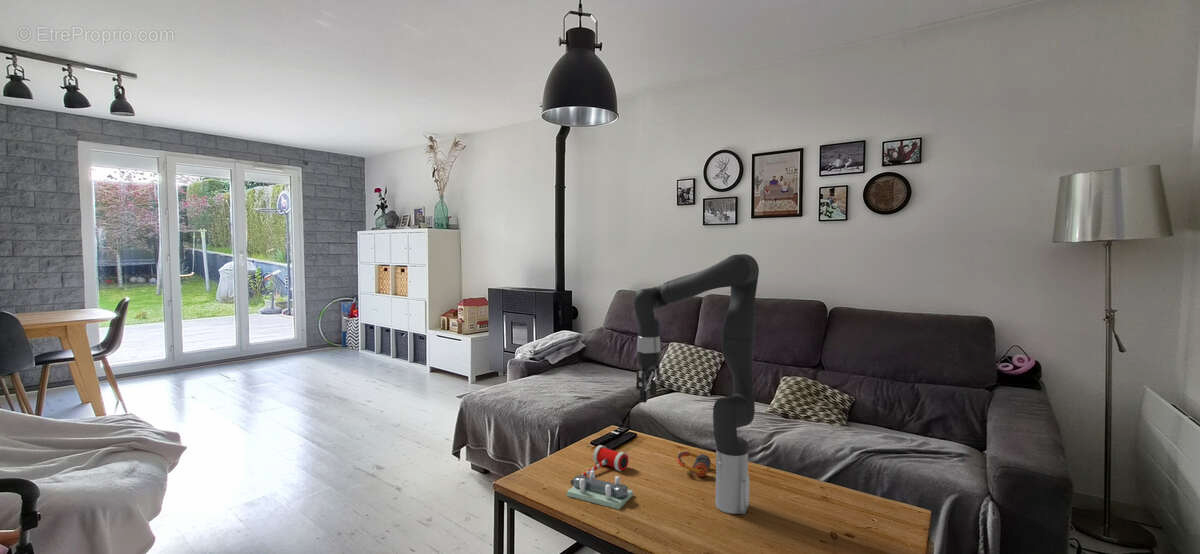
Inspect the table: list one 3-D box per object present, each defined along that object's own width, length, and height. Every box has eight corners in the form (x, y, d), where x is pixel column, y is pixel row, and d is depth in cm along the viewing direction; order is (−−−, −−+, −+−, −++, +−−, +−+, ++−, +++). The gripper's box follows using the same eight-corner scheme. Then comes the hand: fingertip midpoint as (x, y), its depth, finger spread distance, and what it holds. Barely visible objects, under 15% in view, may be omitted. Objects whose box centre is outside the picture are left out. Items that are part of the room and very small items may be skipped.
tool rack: (632, 495, 160) (632, 477, 160) (619, 509, 152) (619, 491, 151) (582, 483, 169) (582, 466, 169) (567, 496, 160) (566, 478, 160)
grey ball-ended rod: (571, 487, 162) (571, 479, 162) (578, 481, 166) (578, 474, 166) (623, 500, 154) (624, 492, 154) (630, 494, 158) (630, 486, 158)
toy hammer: (586, 491, 164) (585, 472, 164) (559, 481, 171) (559, 462, 171) (629, 468, 181) (629, 450, 181) (603, 459, 189) (603, 442, 188)
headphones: (735, 474, 182) (680, 454, 188) (738, 460, 181) (684, 440, 187) (730, 495, 166) (671, 473, 172) (734, 480, 165) (674, 458, 171)
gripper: (646, 345, 175) (646, 392, 175) (629, 352, 162) (628, 403, 163) (667, 346, 171) (666, 394, 172) (651, 354, 159) (650, 406, 159)
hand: (648, 398), depth 167 cm, fingers open, 8 cm apart
